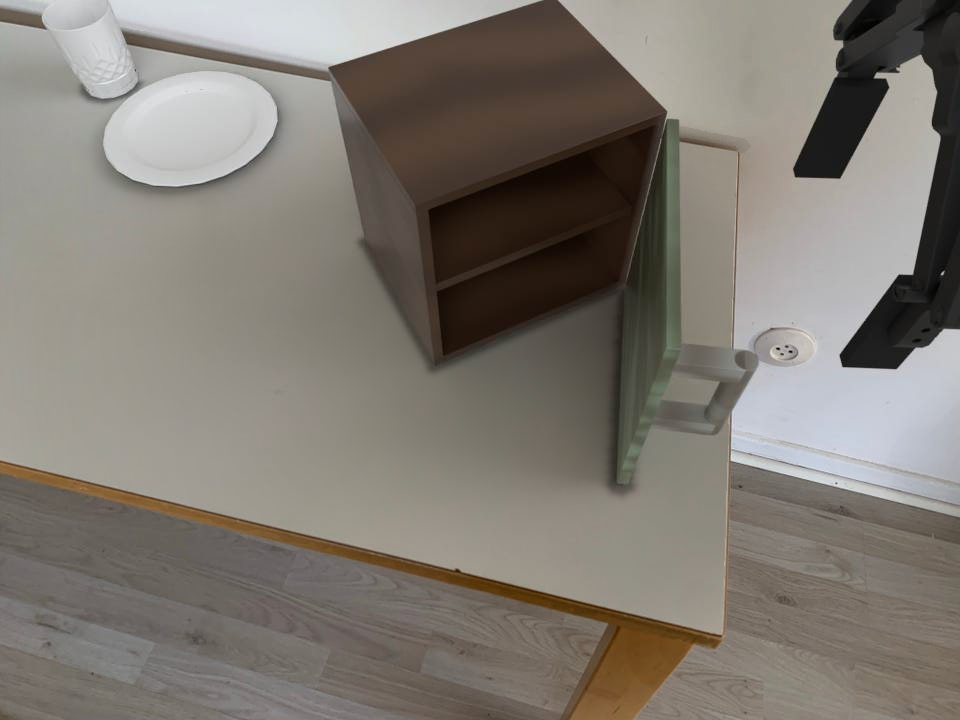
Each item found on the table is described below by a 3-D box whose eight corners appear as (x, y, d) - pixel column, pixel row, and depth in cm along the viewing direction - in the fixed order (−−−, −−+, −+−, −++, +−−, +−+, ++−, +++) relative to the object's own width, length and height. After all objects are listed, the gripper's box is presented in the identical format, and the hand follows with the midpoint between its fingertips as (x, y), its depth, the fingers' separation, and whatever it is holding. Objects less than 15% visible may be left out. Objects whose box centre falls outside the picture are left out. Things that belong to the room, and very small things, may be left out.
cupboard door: (696, 295, 75) (762, 125, 57) (701, 494, 64) (786, 360, 45) (624, 288, 76) (666, 117, 58) (616, 483, 64) (665, 348, 46)
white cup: (89, 110, 93) (49, 38, 84) (74, 76, 96) (34, 4, 88) (150, 89, 95) (117, 17, 86) (134, 57, 98) (100, -15, 90)
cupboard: (625, 284, 77) (668, 111, 58) (434, 366, 71) (415, 204, 53) (540, 176, 85) (554, -4, 67) (365, 242, 80) (327, 66, 62)
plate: (243, 207, 83) (238, 196, 82) (76, 182, 86) (69, 171, 84) (303, 91, 94) (301, 79, 93) (154, 72, 97) (149, 60, 95)
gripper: (891, -318, 30) (741, 110, 48) (1165, 64, 16) (813, 460, 34) (1080, -318, 30) (858, 113, 47) (1516, 72, 16) (977, 468, 34)
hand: (839, 260), depth 41 cm, fingers open, 13 cm apart
